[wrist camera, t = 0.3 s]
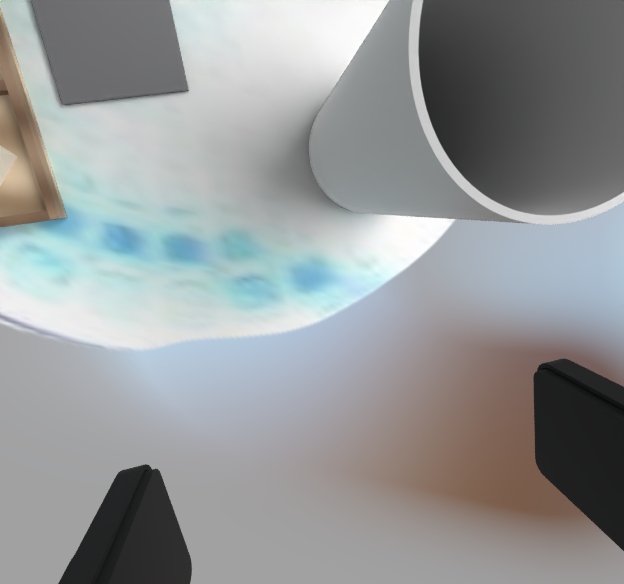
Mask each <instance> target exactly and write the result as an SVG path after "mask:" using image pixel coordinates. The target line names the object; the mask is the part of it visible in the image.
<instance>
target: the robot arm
mask: <svg viewBox="0 0 624 584" xmlns="http://www.w3.org/2000/svg"><path fill="white" fill-rule="evenodd" d="M534 417H535V459H536V464H537V466H538V468H539V470H540V471H541V473H542V474H543V475H544V476H545V477H546V478H547V479H548V480H549V481H550V482H551V483H552V484H553V485H554V486H555V487H557V488H558V489H559V490H560V491H561V492H562V493H563V494H564V495H565V496H566V497H567V498H568V499H569V500H570V501H571V502H572V503H573V504H574V505H575V506H577V507H578V508H579V509H580V510H581V511H582V512H583V513H584V514H585V515H586V516H587V517H588V518H589V519H590V520H591V521H593V522H594V523H595V524H596V525H597V526H598V527H599V528H600V529H601V530H602V531H603V532H604V533H605V534H606V535H607V536H608V537H610V538H611V539H612V540H613V541H614V542H615V543H616V544H617V545H618V546H619V547H620V548H621V549H622V550H623V551H624V387H623V386H621V385H619V384H617V383H615V382H613V381H610V380H609V379H607V378H604V377H602V376H601V375H598V374H596V373H594V372H592V371H590V370H588V369H586V368H584V367H582V366H580V365H578V364H576V363H574V362H572V361H570V360H567V359H559V360H555V361H551V362H547V363H543V364H541V365H539V367H538V370H537V372H535V374H534ZM191 572H192V567H191V558H190V555H189V552H188V549H187V546H186V544H185V541H184V538H183V535H182V532H181V530H180V527H179V524H178V521H177V518H176V515H175V513H174V510H173V507H172V504H171V501H170V499H169V496H168V493H167V490H166V487H165V485H164V482H163V479H162V476H161V474H160V471H159V470H158V469H153V470H152V469H151V467H150V466H149V465H142V466H138V467H134V468H130V469H126V470H122V471H120V472H119V473H118V474H117V476H116V478H115V479H114V481H113V483H112V485H111V487H110V489H109V491H108V493H107V495H106V497H105V498H104V500H103V502H102V504H101V506H100V508H99V510H98V512H97V514H96V516H95V517H94V519H93V521H92V523H91V525H90V527H89V529H88V531H87V533H86V535H85V536H84V538H83V540H82V542H81V544H80V546H79V548H78V550H77V552H76V553H75V555H74V557H73V558H72V560H71V561H70V563H69V565H68V567H67V569H66V571H65V572H64V574H63V576H62V578H61V580H60V582H59V584H190V581H191Z"/></svg>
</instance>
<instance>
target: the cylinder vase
mask: <svg viewBox="0 0 624 584" xmlns="http://www.w3.org/2000/svg"><path fill="white" fill-rule="evenodd" d="M309 159H310V164H311V168H312V171H313V174H314V177H315V179H316V181H317V183H318V184H319V186H320V188H321V189H322V190H323V192H324V193H325V194H326V195H327V196H328V197H329V198H330V199H331V200H332V201H333V202H335V203H336V204H338V205H339V206H341V207H343V208H345V209H347V210H350V211H353V212H357V213H366V214H382V215H399V216H415V217H431V218H447V219H465V220H481V221H498V222H513V223H530V224H563V223H569V222H574V221H579V220H583V219H586V218H589V217H592V216H595V215H597V214H600V213H602V212H605V211H607V210H609V209H611V208H613V207H615V206H616V205H618V204H620V203H622V202H623V201H624V0H389V2H388V4H387V5H386V7H385V8H384V10H383V12H382V13H381V15H380V16H379V18H378V19H377V21H376V23H375V24H374V26H373V27H372V29H371V30H370V32H369V34H368V35H367V37H366V38H365V40H364V41H363V43H362V45H361V46H360V48H359V49H358V51H357V52H356V54H355V56H354V57H353V59H352V60H351V62H350V63H349V65H348V67H347V68H346V70H345V71H344V73H343V74H342V76H341V78H340V79H339V81H338V82H337V84H336V86H335V87H334V89H333V90H332V92H331V93H330V95H329V97H328V98H327V100H326V101H325V103H324V104H323V106H322V108H321V109H320V111H319V112H318V114H317V116H316V118H315V120H314V123H313V126H312V129H311V133H310V139H309Z"/></svg>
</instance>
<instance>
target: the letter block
mask: <svg viewBox="0 0 624 584" xmlns="http://www.w3.org/2000/svg"><path fill="white" fill-rule="evenodd" d="M17 157H18V156H16V155H14V154H13V153H11V152H10V151H8V150H7V149H5V148H4V147H2V146H0V186H1V184H2V182H3V181H4V179H5V177H6V176H7V174H8V172H9V171H10V169H11V167H12V166H13V164H14V162H15V160H16V159H17Z"/></svg>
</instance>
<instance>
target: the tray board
mask: <svg viewBox="0 0 624 584" xmlns="http://www.w3.org/2000/svg"><path fill="white" fill-rule="evenodd" d="M0 146H2V147H4V148H5V149H7V150H8V151H10V152H11V153H13V154H14V155H16V156H18V157H17V159H16V160H15V162H14V164H13V166H12V167H11V169H10V171H9V172H8V174H7V176H6V177H5V179H4V181H3V182H2V184H1V186H0V228H1V227H7V226H14V225H21V224H27V223H34V222H41V221H48V220H54V219H61V218H67V215H66V212H65V209H64V206H63V203H62V199H61V196H60V193H59V190H58V187H57V184H56V181H55V178H54V174H53V171H52V168H51V165H50V162H49V159H48V156H47V153H46V149H45V146H44V143H43V140H42V137H41V134H40V131H39V127H38V124H37V121H36V118H35V115H34V112H33V109H32V106H31V102H30V99H29V96H28V93H27V90H26V87H25V84H24V80H23V77H22V74H21V71H20V68H19V65H18V62H17V59H16V55H15V52H14V49H13V46H12V43H11V40H10V37H9V34H8V30H7V27H6V24H5V21H4V18H3V15H2V12H1V8H0Z"/></svg>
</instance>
